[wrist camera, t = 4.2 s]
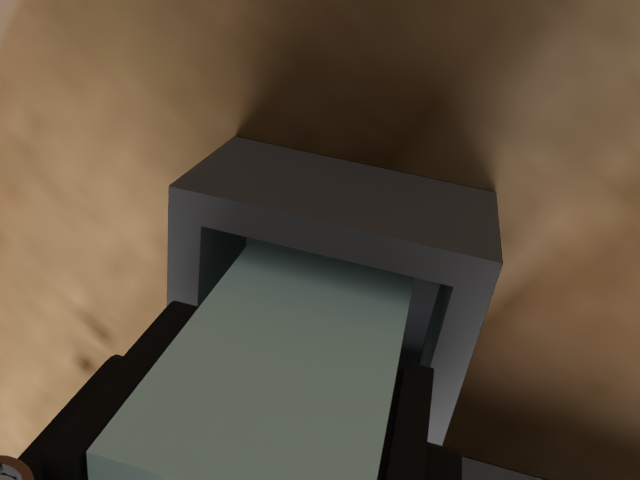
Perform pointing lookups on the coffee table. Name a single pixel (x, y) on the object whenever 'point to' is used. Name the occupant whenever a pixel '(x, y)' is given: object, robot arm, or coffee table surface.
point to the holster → (347, 241)
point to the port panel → (489, 472)
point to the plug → (268, 377)
